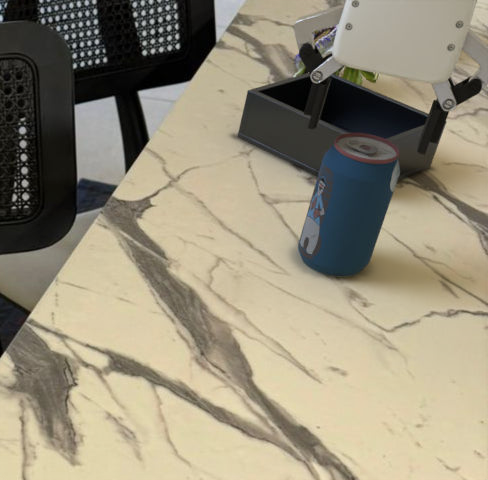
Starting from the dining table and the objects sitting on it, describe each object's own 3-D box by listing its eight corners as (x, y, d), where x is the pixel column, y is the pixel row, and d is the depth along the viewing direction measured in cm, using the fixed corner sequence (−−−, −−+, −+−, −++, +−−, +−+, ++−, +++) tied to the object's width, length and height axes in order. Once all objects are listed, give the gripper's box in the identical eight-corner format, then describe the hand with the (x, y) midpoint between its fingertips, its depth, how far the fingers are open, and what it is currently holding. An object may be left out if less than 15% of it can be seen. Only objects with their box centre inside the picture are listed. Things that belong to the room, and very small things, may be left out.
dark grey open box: (429, 170, 118) (447, 121, 114) (357, 198, 111) (374, 147, 107) (308, 115, 128) (321, 68, 124) (236, 138, 121) (247, 90, 117)
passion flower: (288, 123, 139) (291, 31, 138) (372, 119, 137) (376, 26, 136) (293, 101, 128) (296, 1, 127) (384, 97, 126) (389, -5, 125)
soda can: (379, 265, 100) (420, 148, 92) (343, 290, 96) (383, 170, 88) (317, 238, 104) (352, 123, 96) (281, 261, 100) (314, 142, 92)
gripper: (550, -66, 81) (467, 143, 92) (331, -104, 84) (278, 101, 96) (552, -43, 75) (464, 175, 87) (318, -85, 79) (264, 129, 90)
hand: (366, 136), depth 91 cm, fingers open, 9 cm apart
